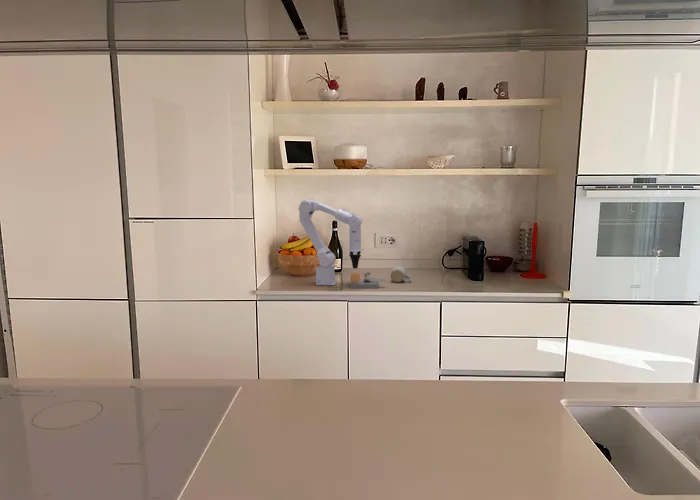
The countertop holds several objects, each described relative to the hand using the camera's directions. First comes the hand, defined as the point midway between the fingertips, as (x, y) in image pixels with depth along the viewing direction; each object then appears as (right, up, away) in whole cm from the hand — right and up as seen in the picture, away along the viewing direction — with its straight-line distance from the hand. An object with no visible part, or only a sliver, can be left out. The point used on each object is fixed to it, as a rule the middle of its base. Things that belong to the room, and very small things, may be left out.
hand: (355, 266), depth 255 cm
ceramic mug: (+24, -8, +11) cm, 28 cm away
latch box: (+4, -9, 0) cm, 10 cm away
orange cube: (0, -7, +1) cm, 7 cm away
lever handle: (+9, -7, -1) cm, 12 cm away
